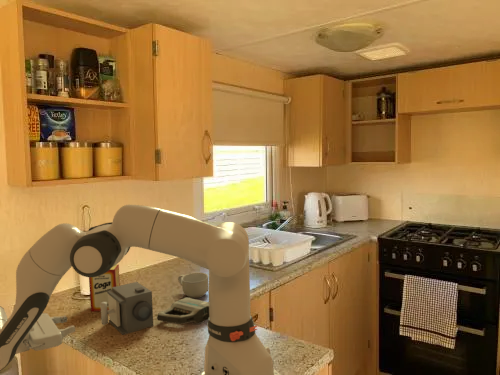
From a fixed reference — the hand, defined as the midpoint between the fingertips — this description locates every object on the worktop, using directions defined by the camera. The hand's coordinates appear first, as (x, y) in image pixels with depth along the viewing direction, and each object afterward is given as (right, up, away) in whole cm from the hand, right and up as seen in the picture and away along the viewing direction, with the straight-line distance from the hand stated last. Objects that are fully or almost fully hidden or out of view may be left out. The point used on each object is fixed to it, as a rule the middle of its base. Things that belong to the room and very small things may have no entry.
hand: (70, 323), depth 128 cm
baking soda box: (+2, -3, +27) cm, 27 cm away
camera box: (+16, -4, +11) cm, 20 cm away
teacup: (+33, -1, +39) cm, 51 cm away
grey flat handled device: (+35, -4, +16) cm, 39 cm away
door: (+9, -4, +10) cm, 13 cm away
